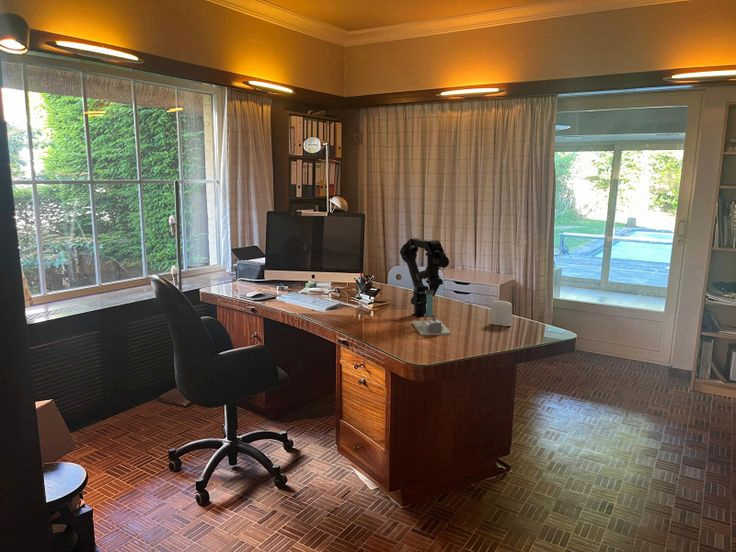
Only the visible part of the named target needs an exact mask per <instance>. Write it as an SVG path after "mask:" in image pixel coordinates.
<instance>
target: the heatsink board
mask: <svg viewBox="0 0 736 552" xmlns="http://www.w3.org/2000/svg"><path fill="white" fill-rule="evenodd" d="M426 314H427V313H426ZM426 314H424V316H423V320H416V321H415V320H413V321H412V325H413V326H414V327H415V329H416V331H417V332H418V333H419V335H420V336H421V335H422V336H441V335H443V336H444V335H445V336H446V335H452V334H451V333H452V332H451V331H450V330H449V329H448V328H447V326H446V325H445V324H444V323H443V321H441V320H440V319H436V314H435V313H433V317H432V319H428V320H427V317H426V316H427V315H426Z"/></svg>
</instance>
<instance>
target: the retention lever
mask: <svg viewBox="0 0 736 552" xmlns="http://www.w3.org/2000/svg"><path fill="white" fill-rule="evenodd" d="M425 294H427V304H426V314H427V316H426V318H433V314H434V313H433V312H434V311H433V310H434V308H433V307H434V306H433V303H434V300H433V298H434V296H433V294H434V289H430V288H428V289H426V290H425Z"/></svg>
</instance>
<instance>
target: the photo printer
mask: <svg viewBox="0 0 736 552" xmlns="http://www.w3.org/2000/svg"><path fill="white" fill-rule="evenodd" d="M490 313H491V314H490V324H491V325H494V326H495V325H496V326H500V325H501V327H507V326H511V327H512V319H513V318H512V317H513V304H512V303H511V302H509V301H506V300H493V301H492V302H491V312H490Z"/></svg>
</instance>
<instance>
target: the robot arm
mask: <svg viewBox="0 0 736 552" xmlns="http://www.w3.org/2000/svg"><path fill="white" fill-rule="evenodd" d="M419 248H420V249H423V250H424V251H425V252H426V253H425V254H424V255H425V256H427V257H426V264H427V265H426V267H425V269H423V270H421V271H420V270H419V266H418V264H417V256H418V251H419ZM399 254H400V256H401V259H402V261H403V262H405V263H406V265H407V268H408V271H409V275H410V278H411V280H412V284H413V287H414V288H413V292H412V294H413V295H412V297H411V299H410V304H411V305H413V313H411V315H412V316H414V317H419V318H420V317H424V314H426V315H427V294H425V290H426V289H434V294H433V297H435V296H436V293H437V291H438V290H439V287H440V286H441V285H443V284H444V280H443V279H442V278H441V277H440V275H439V274H440V273H439V272H440V271H441V270H440V269H441V268H442V269H445V268H447V267H448V266H449V264H450V260H449V258H448V256H447V254H446V253H445V249H444V248H443V246H442V243H441V242H440V240H438V239H437V240H436V239H435V240H434V239H433V240H425V239H419V238H418V237H417V238H416V237H413V238H409V239H408V241H407V242H406V243H404V244H403V245H402V247H401V248H400V250H399ZM439 270H440V271H439ZM423 280H425V282H426V283H427V285H424V282H423Z"/></svg>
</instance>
